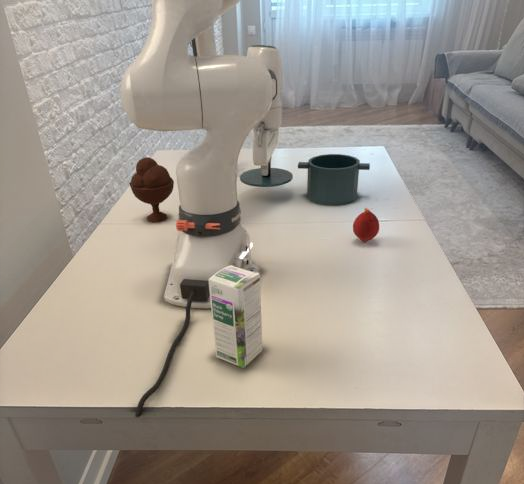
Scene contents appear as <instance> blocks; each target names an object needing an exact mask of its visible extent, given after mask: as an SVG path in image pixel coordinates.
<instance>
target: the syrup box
mask: <svg viewBox="0 0 524 484" xmlns="http://www.w3.org/2000/svg"><path fill="white" fill-rule="evenodd" d="M209 291H210V301H211V308H210V309H211V315H212V316H211V317H212V318H211V319H212V327H213V338H214V348H215V357H216V359H220V360H223V361H225V362H227V363H230V364H232V365H234V366H237V367H239V368H242V369H244V368H246V366H248V365H249V364H250V363H251V362H252V361H253V360H254V359H256V357H257V356H258V355H260V354H261V353H262V352H263V327H262V323H263V322H262V297H261V293H262V292H261V272H259V273H254V272H251V271H248V270H245V269H241V268H238V267H235V266H232V265H230V266H228V267H225V268H224V269H222V270H220V271H219V272H217V273H216V274H214V275H213V276H212V277H211V278H210V279H209Z"/></svg>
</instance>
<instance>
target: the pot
mask: <svg viewBox="0 0 524 484" xmlns="http://www.w3.org/2000/svg"><path fill="white" fill-rule="evenodd" d="M297 169H299V170H300V169H301V170H302V169H306V170H307V181H306V183H307V187H306V197H307V199H308V200H309V201H310V202H312V203H315V204H318V205H322V206H323V205H324V206H343V205H347V204H351V203H352V202H354V201H356V199H357V197H358V187H359V186H358V185H359V175H360V171H370V169H371V162H370V163H369V162H368V163H367V162H366V163H365V162H363V163H362V162H360V159H359V158H357V157H355V156H352V155H348V154H342V153H341V154H340V153H337V154H336V153H327V154H320V155H316V156H313V157H311V158H309V159H308V160H307V161H299V162H298V164H297Z"/></svg>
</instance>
